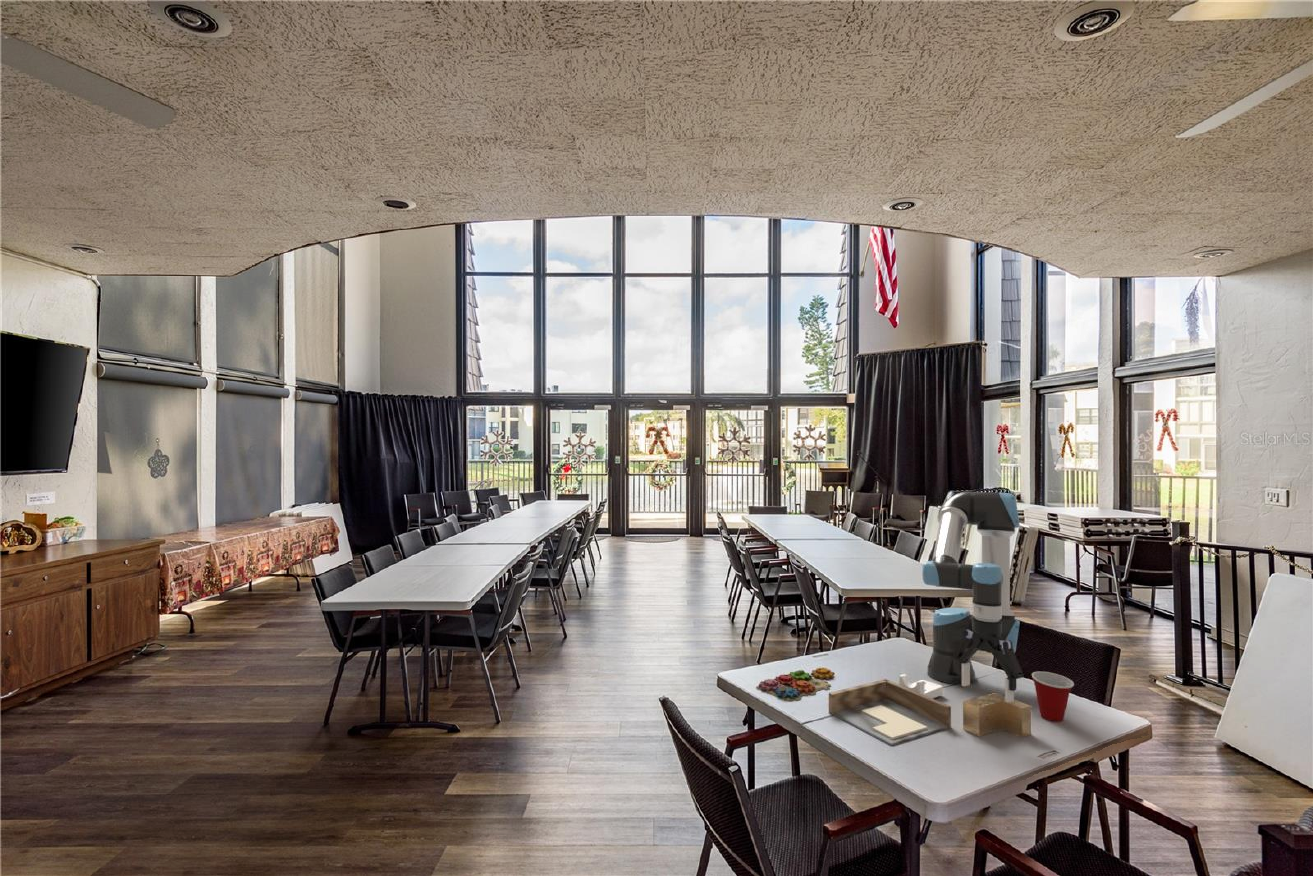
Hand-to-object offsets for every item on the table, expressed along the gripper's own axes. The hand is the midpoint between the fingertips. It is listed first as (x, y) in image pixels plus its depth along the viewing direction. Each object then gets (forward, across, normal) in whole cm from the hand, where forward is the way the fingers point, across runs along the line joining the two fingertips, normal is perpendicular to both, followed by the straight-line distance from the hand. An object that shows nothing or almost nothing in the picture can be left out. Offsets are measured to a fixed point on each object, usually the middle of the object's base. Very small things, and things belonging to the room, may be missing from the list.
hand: (986, 693), depth 185 cm
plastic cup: (+10, +5, +24) cm, 26 cm away
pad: (+10, -15, -24) cm, 30 cm away
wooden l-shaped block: (+10, +3, +1) cm, 10 cm away
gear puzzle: (+11, -51, -24) cm, 57 cm away
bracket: (+10, -24, +2) cm, 26 cm away
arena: (+10, -17, -20) cm, 29 cm away
